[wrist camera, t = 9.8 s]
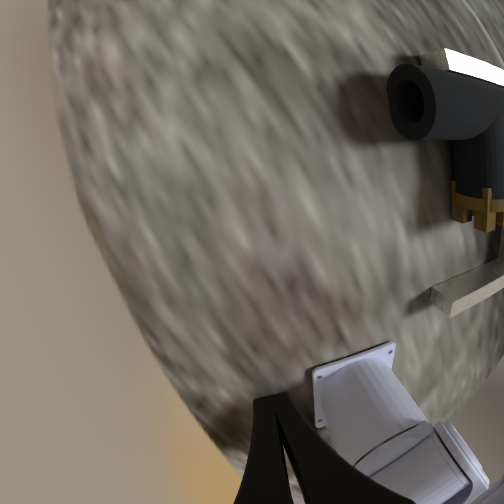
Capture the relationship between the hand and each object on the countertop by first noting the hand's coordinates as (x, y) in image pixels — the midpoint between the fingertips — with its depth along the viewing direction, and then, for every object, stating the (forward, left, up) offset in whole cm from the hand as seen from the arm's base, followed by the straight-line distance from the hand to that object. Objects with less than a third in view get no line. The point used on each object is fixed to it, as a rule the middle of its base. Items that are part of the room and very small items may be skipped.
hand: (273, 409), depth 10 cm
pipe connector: (+8, -20, -10) cm, 23 cm away
